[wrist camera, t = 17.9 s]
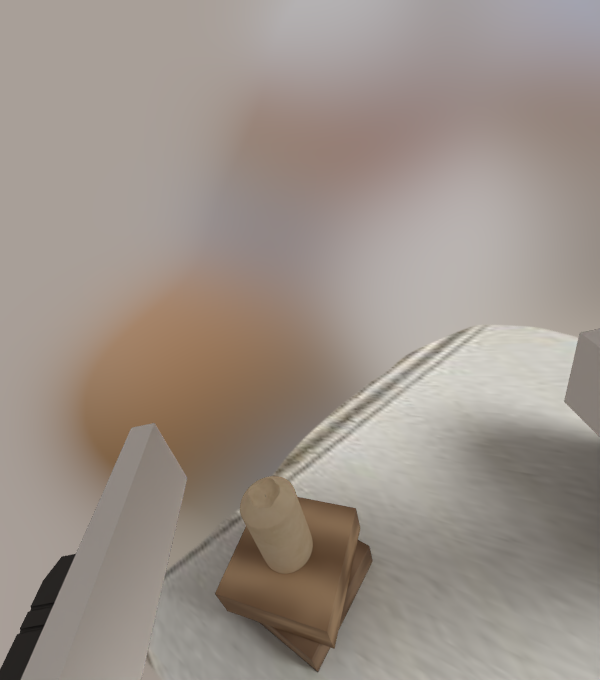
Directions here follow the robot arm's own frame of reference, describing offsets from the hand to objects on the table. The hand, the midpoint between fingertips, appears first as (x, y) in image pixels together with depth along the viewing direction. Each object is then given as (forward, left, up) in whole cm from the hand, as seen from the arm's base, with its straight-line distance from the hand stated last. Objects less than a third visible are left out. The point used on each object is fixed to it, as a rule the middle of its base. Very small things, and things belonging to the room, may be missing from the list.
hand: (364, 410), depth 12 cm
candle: (-4, -16, -31) cm, 35 cm away
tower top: (-4, -15, -35) cm, 38 cm away
